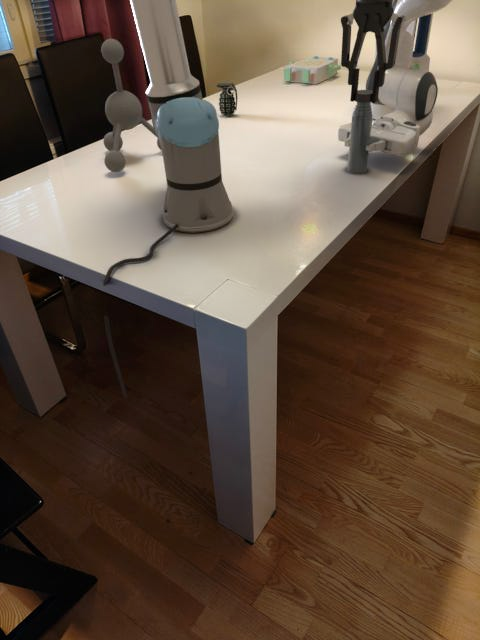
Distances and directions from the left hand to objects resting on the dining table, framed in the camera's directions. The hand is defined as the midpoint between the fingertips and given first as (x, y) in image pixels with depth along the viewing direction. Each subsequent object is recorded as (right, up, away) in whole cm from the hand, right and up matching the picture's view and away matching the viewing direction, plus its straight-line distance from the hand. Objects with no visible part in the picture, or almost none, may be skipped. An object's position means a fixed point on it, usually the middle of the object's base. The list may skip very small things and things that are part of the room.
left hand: (364, 100), depth 114 cm
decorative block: (+1, +52, +93) cm, 107 cm away
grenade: (-33, +20, +55) cm, 67 cm away
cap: (0, +1, -1) cm, 2 cm away
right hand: (0, -9, +6) cm, 11 cm away
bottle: (+1, -13, +10) cm, 17 cm away
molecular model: (-58, -5, +25) cm, 63 cm away
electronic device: (+33, +34, +68) cm, 83 cm away
